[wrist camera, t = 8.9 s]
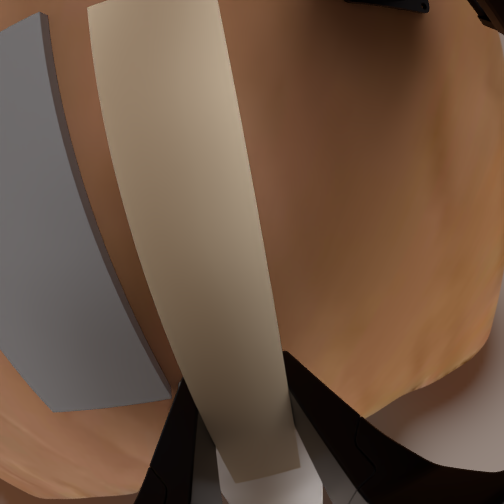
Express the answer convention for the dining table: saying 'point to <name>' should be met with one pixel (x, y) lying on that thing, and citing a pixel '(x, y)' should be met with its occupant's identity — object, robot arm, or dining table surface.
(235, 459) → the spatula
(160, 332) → the dining table surface
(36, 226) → the charcoal board
